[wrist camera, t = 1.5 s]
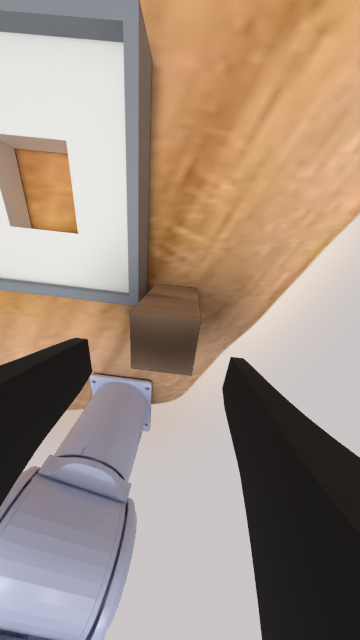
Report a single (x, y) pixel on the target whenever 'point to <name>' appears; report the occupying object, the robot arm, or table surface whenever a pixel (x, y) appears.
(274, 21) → the table surface
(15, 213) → the box
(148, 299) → the peg
